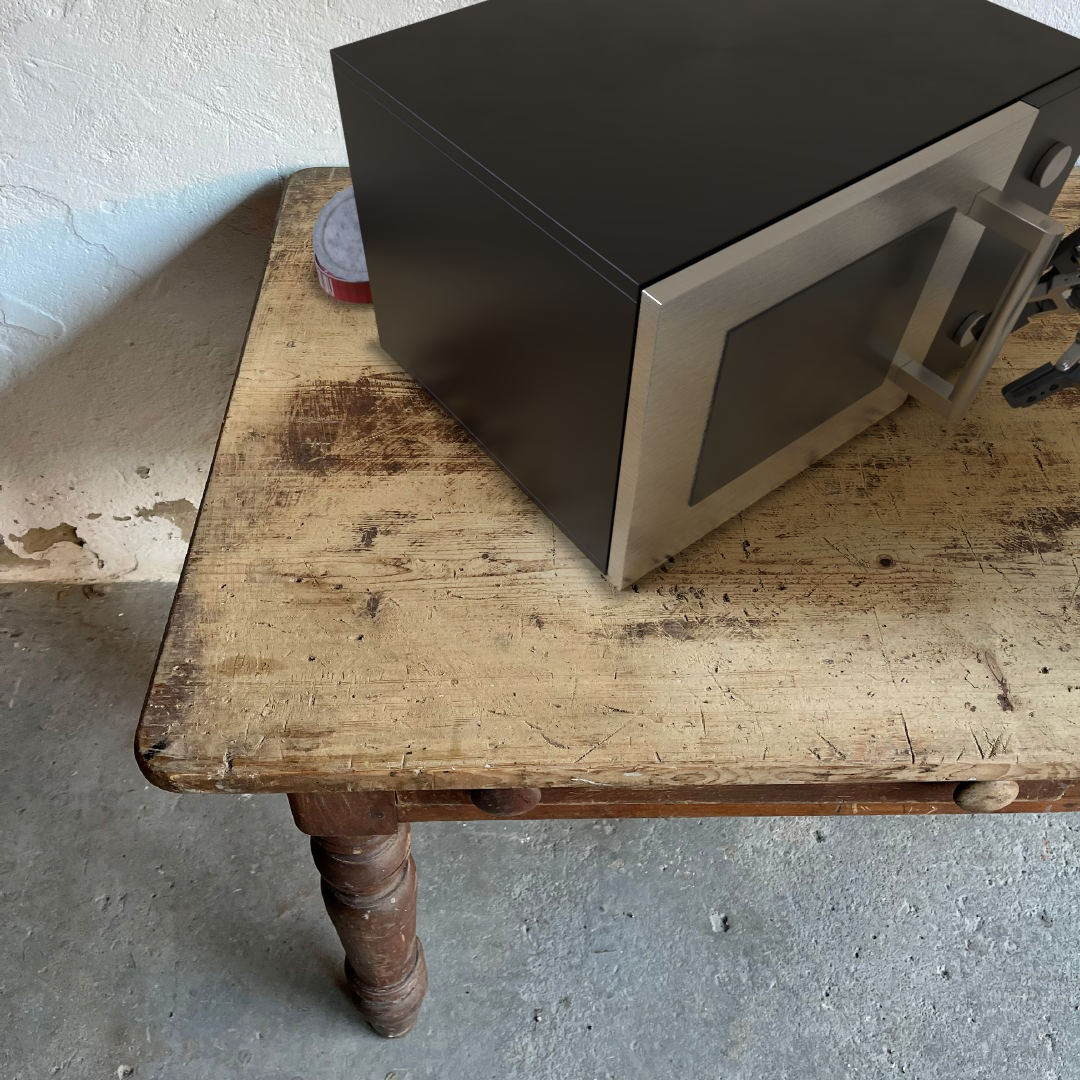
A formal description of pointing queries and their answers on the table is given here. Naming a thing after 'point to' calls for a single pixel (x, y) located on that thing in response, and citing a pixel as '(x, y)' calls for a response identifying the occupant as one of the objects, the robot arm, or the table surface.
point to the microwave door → (813, 336)
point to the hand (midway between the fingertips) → (991, 368)
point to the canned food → (341, 250)
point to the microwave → (646, 185)
